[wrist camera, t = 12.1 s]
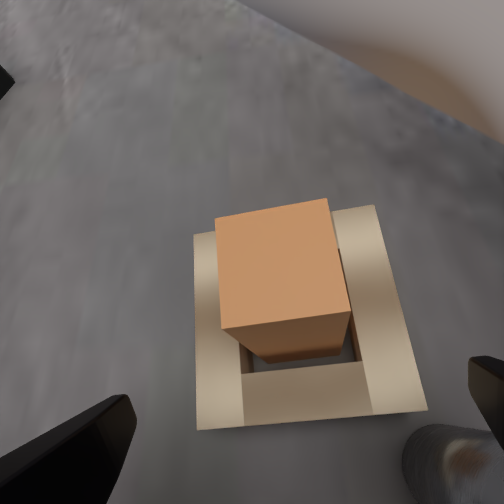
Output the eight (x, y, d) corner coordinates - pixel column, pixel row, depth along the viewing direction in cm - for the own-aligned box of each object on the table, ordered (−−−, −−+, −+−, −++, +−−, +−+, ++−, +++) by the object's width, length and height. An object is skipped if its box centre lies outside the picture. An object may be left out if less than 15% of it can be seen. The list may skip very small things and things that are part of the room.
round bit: (485, 540, 16) (695, 715, 7) (392, 493, 17) (466, 590, 8) (500, 446, 17) (696, 490, 8) (413, 410, 18) (497, 413, 9)
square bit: (339, 355, 20) (350, 311, 11) (268, 364, 20) (221, 328, 11) (326, 286, 21) (326, 198, 12) (261, 296, 22) (214, 218, 13)
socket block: (408, 409, 18) (428, 410, 15) (220, 426, 20) (196, 430, 16) (366, 237, 22) (373, 204, 19) (213, 260, 24) (193, 234, 20)
